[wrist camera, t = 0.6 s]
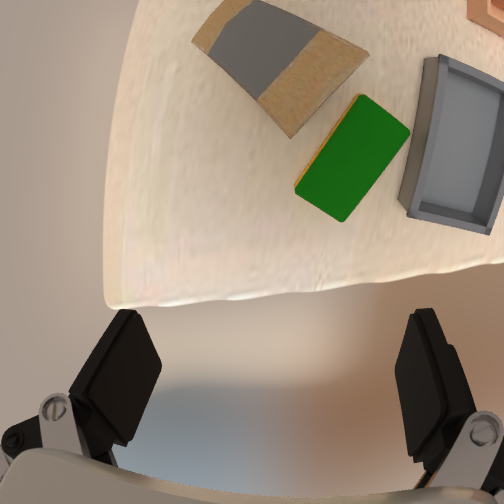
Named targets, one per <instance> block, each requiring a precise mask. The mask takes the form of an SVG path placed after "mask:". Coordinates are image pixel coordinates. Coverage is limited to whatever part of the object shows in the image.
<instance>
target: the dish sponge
mask: <svg viewBox="0 0 504 504" xmlns="http://www.w3.org/2000/svg"><path fill="white" fill-rule="evenodd" d="M409 136H410V130H409V129H408V128H407V127H405V126H404V125H403V124H402V123H401V122H399V121H398V120H397V119H396V118H394V117H393V116H392V115H391V114H389V113H388V112H387V111H386V110H384V109H383V108H382V107H380V106H379V105H378V104H376V103H375V102H374V101H372V100H371V99H370V98H368V97H367V96H366V95H363V94H357V95H356V97H355V98H354V99H353V101H352V102H351V104H350V105H349V107H348V108H347V110H346V111H345V112H344V114H343V115H342V117H341V118H340V120H339V121H338V123H337V124H336V125H335V127H334V128H333V130H332V131H331V133H330V134H329V136H328V137H327V138H326V140H325V141H324V143H323V144H322V146H321V147H320V149H319V150H318V151H317V153H316V154H315V156H314V157H313V159H312V160H311V162H310V163H309V164H308V166H307V167H306V169H305V170H304V172H303V173H302V175H301V176H300V177H299V179H298V180H297V182H296V183H295V194H297V195H299V196H300V197H302V198H303V199H305V200H307V201H308V202H310V203H311V204H313V205H314V206H316V207H318V208H319V209H321V210H322V211H324V212H325V213H327V214H328V215H330V216H331V217H333V218H334V219H336V220H338V221H339V222H344V221H345V220H346V219H347V218H348V216H349V215H350V214H351V213H352V211H353V210H354V209H355V207H356V206H357V205H358V204H359V202H360V201H361V200H362V198H363V197H364V196H365V195H366V193H367V192H368V191H369V189H370V188H371V187H372V185H373V184H374V183H375V182H376V180H377V179H378V178H379V176H380V175H381V174H382V172H383V171H384V170H385V168H386V167H387V166H388V164H389V163H390V162H391V160H392V159H393V157H394V156H395V155H396V153H397V152H398V151H399V149H400V148H401V147H402V145H403V144H404V142H405V141H406V140H407V138H408V137H409Z"/></svg>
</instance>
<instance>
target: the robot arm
mask: <svg viewBox="0 0 504 504" xmlns="http://www.w3.org/2000/svg"><path fill="white" fill-rule="evenodd" d="M161 369H162V363H161V360H160V358H159V356H158V354H157V351H156V349H155V347H154V345H153V342H152V340H151V338H150V335H149V333H148V331H147V328H146V326H145V324H144V322H143V319H142V317H141V315H140V314H138V313H137V311H136V310H130V309H120V310H119V311H118V312H117V314H116V316H115V317H114V318H113V320H112V322H111V323H110V325H109V326H108V328H107V329H106V331H105V332H104V334H103V336H102V337H101V338H100V340H99V342H98V343H97V345H96V346H95V348H94V350H93V351H92V353H91V355H90V356H89V358H88V359H87V361H86V362H85V364H84V366H83V368H82V369H81V371H80V372H79V374H78V376H77V378H76V379H75V381H74V383H73V384H72V386H71V387H70V389H69V393H70V394H69V396H67V395H65V394H63V393H55V394H51V395H50V396H48V397H47V398H46V399H44V400H43V402H42V404H41V405H40V408H39V415H37V416H35V417H32V418H30V419H28V420H25V421H23V422H21V423H19V424H16V425H14V426H11V427H10V428H8V429H7V430H6V431H5V433H4V434H3V436H2V441H1V445H0V504H504V435H503V434H504V428H503V424H502V422H501V420H500V419H499V417H498V416H497V415H495V414H494V413H492V412H489V411H478V412H477V410H476V407H475V403H474V400H473V397H472V394H471V391H470V388H469V385H468V382H467V379H466V376H465V374H464V371H463V368H462V366H461V363H460V360H459V357H458V355H457V352H456V350H455V348H454V346H453V345H451V344H448V343H447V341H446V338H445V336H444V333H443V331H442V328H441V326H440V323H439V321H438V319H437V317H436V314H435V312H434V310H433V309H432V308H424V309H416V310H415V313H414V314H410V316H409V320H408V324H407V328H406V331H405V335H404V338H403V342H402V345H401V348H400V352H399V355H398V358H397V362H396V365H395V377H396V382H397V387H398V393H399V399H400V404H401V409H402V416H403V422H404V429H405V436H406V443H407V450H408V455H409V456H410V457H411V456H413V461H414V463H418V462H423V466H424V470H426V471H425V472H424V474H423V475H422V477H421V478H420V479H419V481H418V482H417V484H416V485H415V487H414V488H413V489H412V490H403V491H396V492H388V493H380V494H368V495H355V496H340V497H279V496H262V495H251V494H241V493H232V492H225V491H218V490H210V489H205V488H199V487H194V486H188V485H184V484H179V483H174V482H169V481H165V480H161V479H157V478H153V477H149V476H145V475H142V474H138V473H135V472H131V471H128V470H124V469H121V468H119V467H118V465H117V462H116V459H115V457H114V454H113V451H112V446H113V443H114V444H117V445H120V446H124V447H126V446H127V444H128V442H129V441H131V440H132V439H133V437H134V435H135V432H136V430H137V427H138V425H139V422H140V420H141V417H142V415H143V413H144V410H145V408H146V405H147V403H148V401H149V398H150V396H151V393H152V391H153V389H154V386H155V384H156V381H157V379H158V377H159V374H160V372H161Z"/></svg>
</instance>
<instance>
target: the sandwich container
mask: <svg viewBox="0 0 504 504" xmlns="http://www.w3.org/2000/svg"><path fill="white" fill-rule="evenodd" d="M192 43H193V44H195V45H196V46H197V47H198V48H199V49H201V50H202V51H203V52H204V53H205V54H207V55H208V56H209V57H210V58H211V59H212V60H213V61H215V62H216V63H217V64H218V65H219V66H220V67H221V68H223V69H224V70H225V71H226V72H227V73H228V74H229V75H230V76H231V77H232V78H233V79H234V80H235V81H236V82H237V83H238V84H239V85H240V86H241V87H242V88H243V89H245V90H246V91H247V92H248V93H249V94H250V95H251V96H252V97H253V98H254V99H255V100H256V101H257V102H258V103H259V104H260V106H261V107H262V108H263V109H264V110H265V111H266V112H267V113H268V114H269V115H270V117H271V118H272V119H273V120H274V121H275V122H276V123H277V124H278V125H279V127H280V128H281V129H282V130H283V131H284V132H285V133H286V135H287V136H288V137H289V138H290V139H291V138H292V137H293V136H294V135H295V134H296V133H297V131H298V130H299V129H300V128H301V127H302V126H303V125H304V124H305V123H306V121H307V120H308V119H309V118H310V117H311V116H312V115H313V114H314V113H315V112H316V110H317V109H318V108H319V107H320V106H321V105H322V104H323V103H324V102H325V101H326V100H327V99H328V98H329V96H330V95H331V94H332V93H333V92H334V91H335V90H336V89H337V88H338V87H339V86H340V85H341V84H342V83H343V82H344V81H345V80H346V79H347V78H348V77H349V76H350V75H351V74H352V73H353V72H354V71H355V70H356V69H357V68H358V67H359V66H360V65H361V64H362V63H363V62H364V61H365V60H366V59H367V58H368V57H369V56H370V55H369V53H368V52H367V51H365V50H363V49H362V48H360V47H358V46H356V45H354V44H352V43H350V42H348V41H346V40H345V39H343V38H341V37H339V36H337V35H335V34H332V33H330V32H328V31H326V30H324V29H322V28H320V27H318V26H316V25H314V24H312V23H310V22H308V21H306V20H304V19H302V18H300V17H298V16H295V15H293V14H291V13H289V12H287V11H284V10H282V9H280V8H277V7H275V6H273V5H270V4H268V3H265V2H263V1H260V0H224V1H223V2H222V3H221V4H220V5H219V6H218V7H217V9H216V10H215V11H214V12H213V13H212V14H211V15H210V16H209V18H208V19H207V20H206V22H205V23H204V24H203V26H202V27H201V28H200V30H199V31H198V32H197V34H196V35H195V36H194V38H193V39H192Z"/></svg>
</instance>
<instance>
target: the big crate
mask: <svg viewBox="0 0 504 504" xmlns="http://www.w3.org/2000/svg"><path fill="white" fill-rule="evenodd" d="M503 196H504V82H502V81H500V80H498V79H496V78H494V77H492V76H490V75H488V74H486V73H484V72H482V71H480V70H478V69H475V68H473V67H471V66H469V65H466V64H464V63H462V62H459V61H457V60H455V59H452V58H450V57H447V56H445V55H442V54H439V55H438V57H433V58H425V59H424V66H423V74H422V82H421V89H420V96H419V102H418V108H417V114H416V119H415V125H414V130H413V135H412V140H411V145H410V150H409V154H408V159H407V163H406V168H405V172H404V176H403V180H402V184H401V188H400V192H399V196H398V200H399V202H400V203H401V204H402V206H403V207H404V208H405V210H406V211H407V214H406V215H407V217H409V218H414V219H419V220H424V221H428V222H433V223H438V224H442V225H447V226H451V227H455V228H460V229H464V230H468V231H472V232H477V233H481V234H485V235H490V233H491V230H492V228H493V225H494V222H495V219H496V217H497V214H498V211H499V208H500V205H501V202H502V199H503Z"/></svg>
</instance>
